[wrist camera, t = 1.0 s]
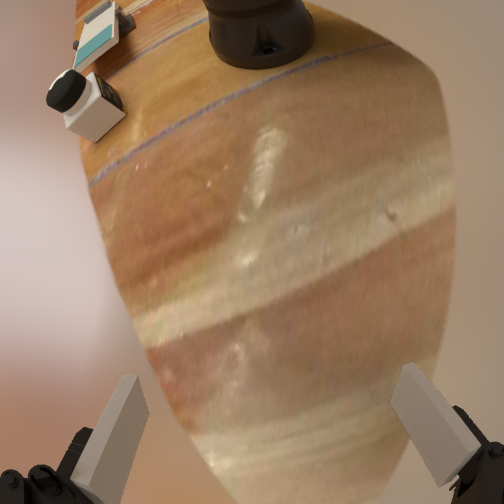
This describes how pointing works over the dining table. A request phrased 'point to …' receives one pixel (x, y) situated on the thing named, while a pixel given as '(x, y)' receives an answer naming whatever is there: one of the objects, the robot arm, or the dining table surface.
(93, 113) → the medicine bottle
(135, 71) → the dining table surface
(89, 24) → the beam
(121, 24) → the fulcrum
